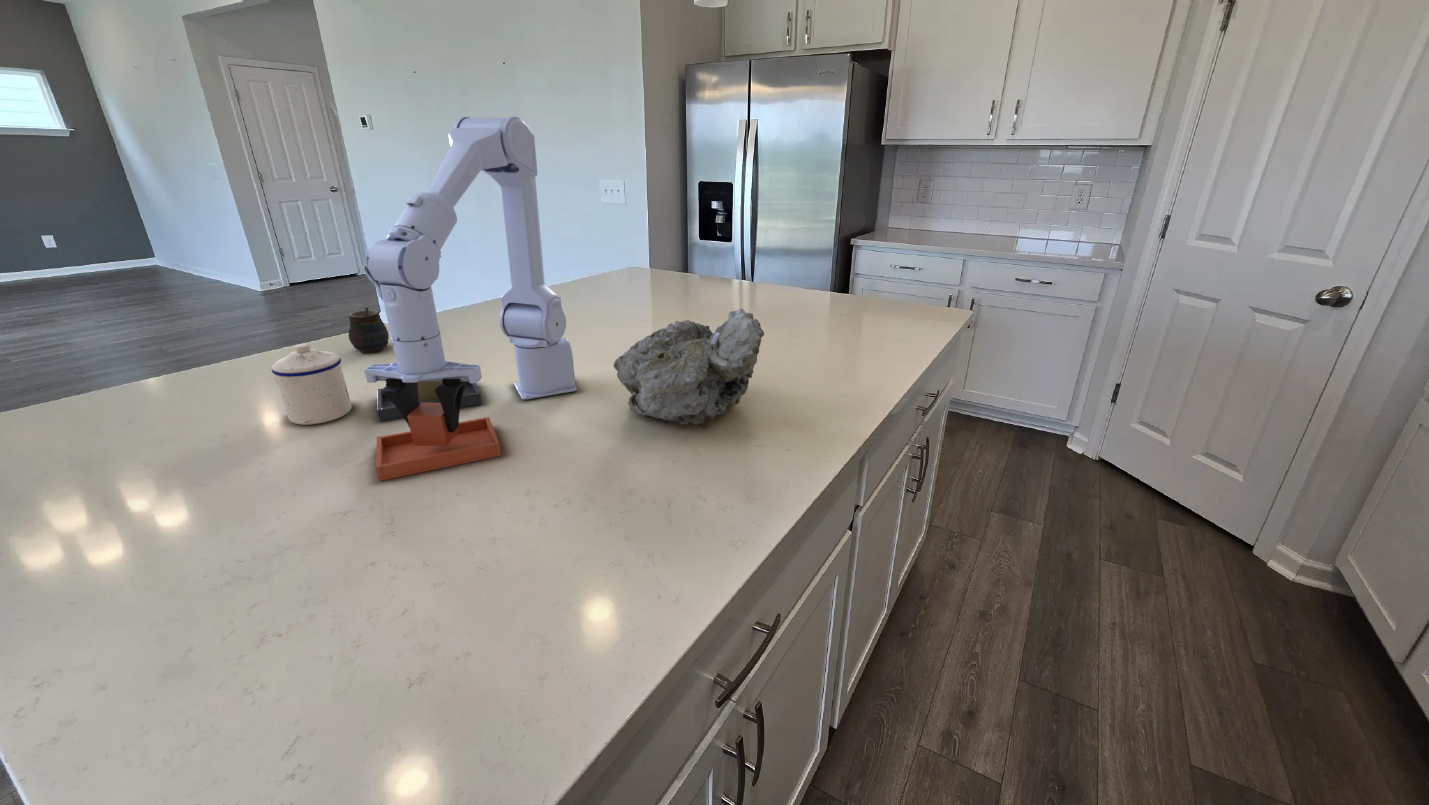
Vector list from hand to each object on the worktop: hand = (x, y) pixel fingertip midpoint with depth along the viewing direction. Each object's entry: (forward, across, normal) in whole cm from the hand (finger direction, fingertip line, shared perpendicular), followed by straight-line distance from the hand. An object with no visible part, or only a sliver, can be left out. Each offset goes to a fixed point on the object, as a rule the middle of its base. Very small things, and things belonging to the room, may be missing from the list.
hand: (435, 429), depth 81 cm
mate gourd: (+4, -33, +45) cm, 56 cm away
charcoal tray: (+4, -9, +18) cm, 20 cm away
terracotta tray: (+4, 0, 0) cm, 4 cm away
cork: (+3, -9, +18) cm, 20 cm away
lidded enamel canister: (+4, -26, +13) cm, 29 cm away
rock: (+4, +35, +15) cm, 38 cm away
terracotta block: (+1, 0, 0) cm, 1 cm away
